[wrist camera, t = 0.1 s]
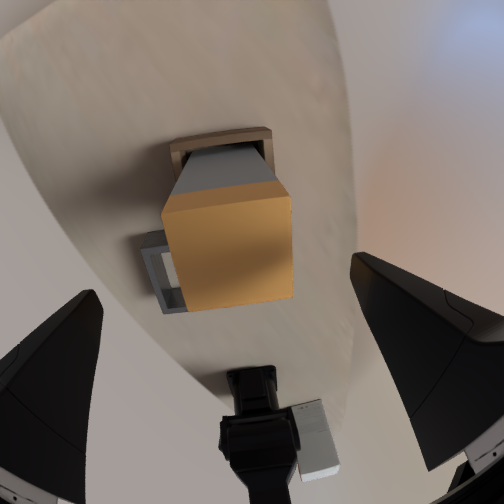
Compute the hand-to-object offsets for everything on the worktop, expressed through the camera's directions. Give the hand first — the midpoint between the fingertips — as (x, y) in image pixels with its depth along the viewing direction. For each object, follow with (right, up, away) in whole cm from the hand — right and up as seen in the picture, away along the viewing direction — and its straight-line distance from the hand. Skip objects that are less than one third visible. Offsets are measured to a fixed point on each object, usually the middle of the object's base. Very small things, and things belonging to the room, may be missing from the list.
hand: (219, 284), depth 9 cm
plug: (-1, +7, +13) cm, 15 cm away
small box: (+10, -28, +35) cm, 45 cm away
